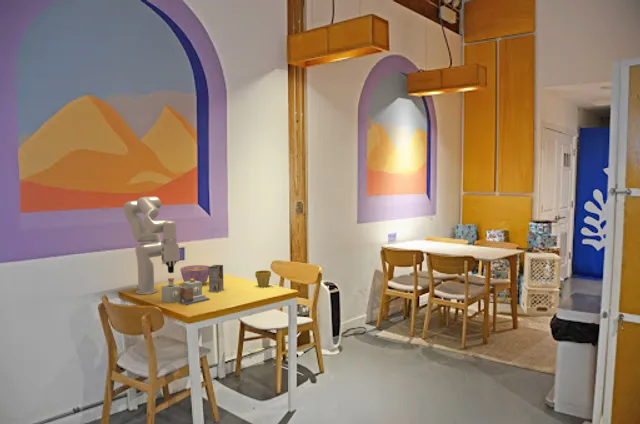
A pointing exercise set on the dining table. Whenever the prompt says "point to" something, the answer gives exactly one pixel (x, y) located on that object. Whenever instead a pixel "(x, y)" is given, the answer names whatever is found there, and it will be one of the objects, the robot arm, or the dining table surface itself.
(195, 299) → the rail board
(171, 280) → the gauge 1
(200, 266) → the bowl of food
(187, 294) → the brown upright block
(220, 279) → the coffee box
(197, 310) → the dining table surface
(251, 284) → the dining table surface
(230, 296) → the dining table surface
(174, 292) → the cabinet
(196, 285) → the cabinet
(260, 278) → the plant pot
